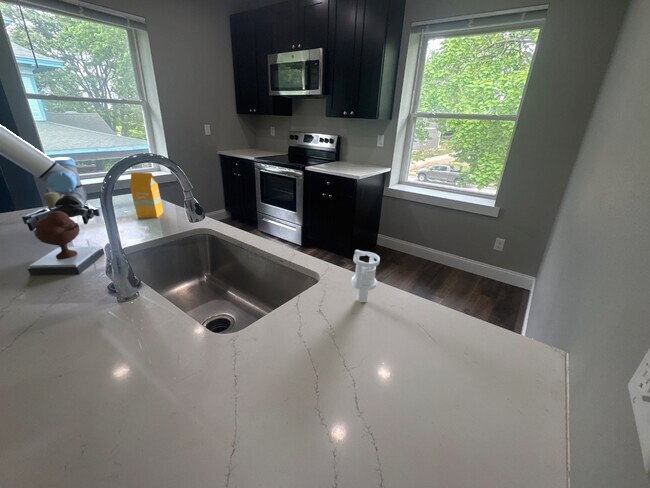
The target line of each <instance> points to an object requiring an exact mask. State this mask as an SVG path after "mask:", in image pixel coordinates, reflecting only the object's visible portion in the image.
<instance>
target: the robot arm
mask: <svg viewBox="0 0 650 488" xmlns="http://www.w3.org/2000/svg"><path fill="white" fill-rule="evenodd" d="M0 155H1V156H2V157H4V158H5V159H7V160H9V161H11V163H14V164H15V165H17V166H19V167H20V168H21V169H23V170H25V171H27V172H29V173H30V174H32V175H34V176H35V177H36V178H38V179H39V180H42V181H43V182H44V183H46V184H47V186H48V187H49V188H50V189H51V190H52V191H53V192H55V193H58V194H59V196H60V198H59V199H58V200H57V201H56V203H55V206H54V208H50V209H48V208H47V207H41V208H40V209H39V210H35V211H33V212H30V213H27V214H25V215H23V216H21V219H22V221H23V224H24V225H26V226H27V228H28V230H29V232H34V231H35V230H36V227H35V225H36V223H37V222H38V221H39V220H40V219H42V218H44V217H47V215H48V214H49V213H50V212H54V211H61V212H64V213H66V214H67V215H68V216H69V218H75V217H80V216H81V219H82V222H83V225H88V223H89V221H90V220H92V219H93V218H94V216H95V217H100V216H101V214H100V211H99V208H97V207H95V206H93V205H90V203H87V201H88V193H87V192H86V190H85V189H84V186H83V184H82V181H81V178H80V174H79V170H78V167H77V164H76V162H75V160H74V159H73V158H72V157H65V156H64V157H63V156H62V157H54V158H53V157H52V158H51V157H49V156H47V154H45V153H43V152H42V151H40V150H39V149H37V148H35V146H33V145H32V144H30V143H29V142H27V141H25V140H23V139H22V138H21V137H20V136H17V135H16V134H15V133H13V132H12V131H10V130H9V129H7V128H6V127H5V126H3V125H1V124H0Z"/></svg>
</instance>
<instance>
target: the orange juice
mask: <svg viewBox="0 0 650 488" xmlns="http://www.w3.org/2000/svg"><path fill="white" fill-rule="evenodd" d="M130 174H131V175H130V185H129V188H130V192H131V196H132V200H133V205H134V209H135V212H136V217H137V218H138V219H157V218H159V217H160V216H161V215H162V214H163V213H164V209H163V202H162V198H161V193H160V189H159V184H158V182H157V181H156V178H155V177H154V175H153V173H152V172H130Z"/></svg>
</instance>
